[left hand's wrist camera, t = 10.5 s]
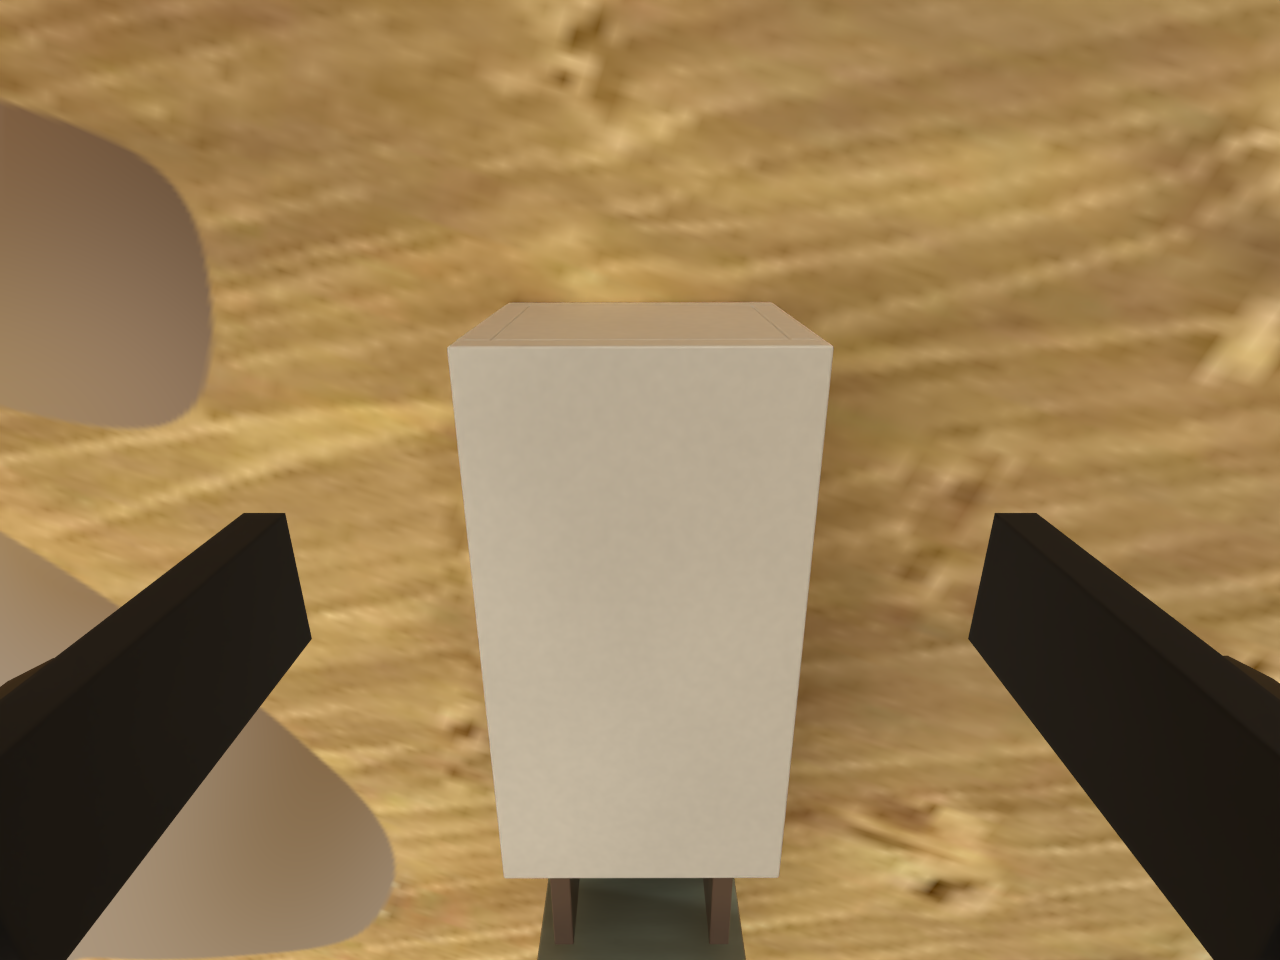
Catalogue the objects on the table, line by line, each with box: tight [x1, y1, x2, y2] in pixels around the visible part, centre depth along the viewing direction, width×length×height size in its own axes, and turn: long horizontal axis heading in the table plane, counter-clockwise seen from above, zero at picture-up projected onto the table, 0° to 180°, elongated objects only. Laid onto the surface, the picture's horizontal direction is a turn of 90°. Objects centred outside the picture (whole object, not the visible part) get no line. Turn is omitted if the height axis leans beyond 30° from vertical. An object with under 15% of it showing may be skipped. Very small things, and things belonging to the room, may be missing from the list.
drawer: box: [537, 878, 746, 960], centre depth 30 cm, size 24×9×7 cm, turn 0°
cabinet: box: [447, 302, 834, 878], centre depth 25 cm, size 20×10×9 cm, turn 0°
